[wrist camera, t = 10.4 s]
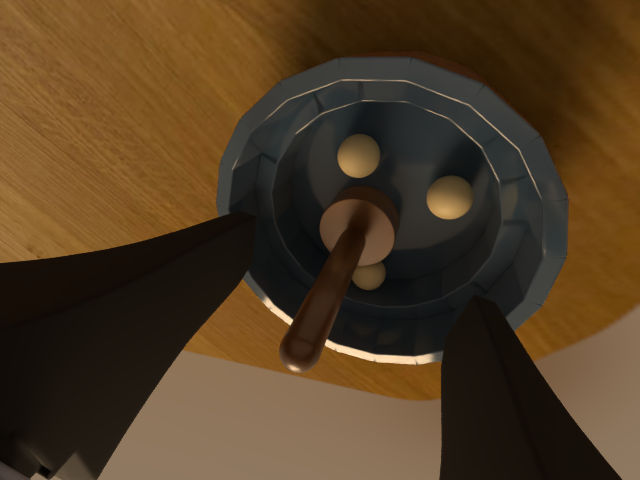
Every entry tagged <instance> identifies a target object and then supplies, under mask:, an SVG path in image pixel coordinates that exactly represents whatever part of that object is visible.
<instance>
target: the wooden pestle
mask: <svg viewBox="0 0 640 480" xmlns="http://www.w3.org/2000/svg"><path fill="white" fill-rule="evenodd" d="M398 228H399V213H398V210H397V208H396V206H395V204H394V203H393V201H392V200H391V199H390V198H389V197H388V196H387V195H386V194H384V193H383V192H382V191H380V190H378V189H375V188H373V187H369V186H353V187H349V188H347V189H344V190H343V191H341V192H340V193H339V194H337V196H336V197H335V198H334V199H333V201H332V202H331V203H330V205H329V206H328V207H327V209H326V210H325V212H324V213H323V215H322V217H321V220H320V235H321V239H322V241H323V243H324V245H325V247H326V248H327V249H328V250H329V252H330V255H329V257H328V259H327V260H326V262H325V264H324V266H323V268H322V269H321V271H320V273H319V275H318V277H317V278H316V280H315V282H314V284H313V286H312V287H311V289H310V291H309V293H308V295H307V296H306V298H305V300H304V302H303V303H302V305H301V307H300V309H299V311H298V312H297V314H296V316H295V318H294V320H293V321H292V323H291V325H290V327H289V329H288V330H287V332H286V334H285V336H284V338H283V339H282V342H281V344H280V348H279V355H280V359H281V362H282V363H283V365H284V366H285V367H286V368H287V369H289V370H290V371H292V372H296V373H303V372H306V371H309V370H310V369H312V368H313V367H314V366H315V365H316V363H317V362H318V360H319V357H320V355H321V352H322V350H323V348H324V345H325V343H326V340H327V338H328V335H329V333H330V330H331V328H332V326H333V323H334V321H335V318H336V316H337V313H338V311H339V308H340V306H341V304H342V301H343V299H344V296H345V294H346V291H347V289H348V286H349V284H350V281H351V279H352V277H353V274H354V272H355V269H356V267H357V266H367V265H372V264H376V263H378V262H380V261H382V260H383V259H384V258H386V257H387V256H388V255H389V253H390V252H391V251H392V248H393V246H394V243H395V239H396V235H397V232H398Z"/></svg>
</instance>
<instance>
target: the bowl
mask: <svg viewBox="0 0 640 480" xmlns="http://www.w3.org/2000/svg"><path fill="white" fill-rule="evenodd" d="M355 134H364V135H368V136H370V137H371V138H373V139H374V140H375V141H376V143H377V144H378V146H379V149H380V161H379V164H378V166H377V168H376V169H375V170H374V171H373V172H372V173H371V174H370V175H368V176H365V177H362V178H355V177H351V176H349V175H347V174H346V173H345V172H343V170H342V169H341V167H340V166H339V163H338V150H339V147H340V145H341V144H342V142H343V141H344V140H345V139H346V138H348V137H349V136H352V135H355ZM450 175H453V176H459V177H461V178H463V179H465V180H466V181H467V182H468V183H469V184H470V185H471V187H472V189H473V193H474V200H473V204H472V206H471V208H470V209H469V210H468V212H466V213H465V214H464V215H463V216H461V217H459V218H456V219H442V218H439V217H437V216H436V215H434V214H433V213H432V212H431V211H430V209H429V207H428V205H427V193H428V190H429V188H430V186H431V185H432V184H433V183H434V182H435V181H436V180H438V179H439V178H441V177H444V176H450ZM353 186H369V187H373V188H375V189H378V190H380V191H382V192H383V193H384V194H386V195H387V196H388V197H389V198H390V199H391V200H392V201H393V203H394V204H395V206H396V208H397V210H398V213H399V228H398V232H397V235H396V239H395V243H394V246H393V248H392V251H391V252H390V253H389V255H388V256H387V257H386V258H384V259H383V260H382V261H381V262H382V263H383V265H384V267H385V270H386V276H385V280H384V282H383V283H382V284H381V285H380V286H379V287H378V288H376V289H374V290H364V289H361V288H359V287H358V286H357V285H356V284H355V283H354V282H353V280H352V279H351V281H350V284H349V286H348V289H347V291H346V294H345V296H344V299H343V301H342V304H341V306H340V308H339V311H338V313H337V316H336V318H335V321H334V323H333V326H332V328H331V330H330V333H329V335H328V338H327V340H326V343H325V346H327V347H329V348H331V349H333V350H336V351H337V352H341V353H344V354H348V355H352V356H355V357H359V358H363V359H366V360H370V361H373V362H375V361H376V362H383V363H398V364H413V365H418V364H426V363H432V362H439V361H442V356H443V349H444V342H445V337H446V335H447V334H448V332H449V331H450V329H451V328H452V326H453V325H454V323H455V322H456V320H457V319H458V317H459V316H460V314H461V313H462V311H463V310H464V308H465V307H466V306H467V304H468V303H469V301H470V300H471V298H472V297H473V295H477V296H480V297H483V298H485V299H488V300H491V301H494V302H496V304H497V305H498V307H499V308H500V310H501V311H502V313H503V315H504V316H505V318H506V319H507V321H508V323H509V324H510V326H511V327H512V329H513V331H515V330H516V329H517V328H519V327H520V326H521V325H522V324H523V323H524V322H525V321H526V320H527V319H529V318H530V317H531V316H532V315H533V314H534V313H535V312H536V311H538V310H539V309H540V308H541V307H542V305H543V304H544V302H545V300H546V298H547V296H548V294H549V292H550V290H551V288H552V286H553V284H554V282H555V280H556V278H557V276H558V274H559V272H560V270H561V268H562V266H563V264H564V262H565V260H566V256H567V245H568V210H569V199H568V194H567V192H566V189H565V187H564V185H563V182H562V180H561V178H560V176H559V173H558V171H557V169H556V167H555V164H554V162H553V160H552V158H551V155H550V153H549V151H548V148H547V146H546V144H545V142H544V139H543V137H542V136H541V135H540V134H539V132H538V131H537V130H536V129H535V128H534V127H533V126H532V125H531V124H530V123H529V122H528V121H527V120H526V119H525V117H524V116H522V114H521V113H520V112H519V111H518V110H517V109H516V108H515V107H514V106H513V105H512V104H511V103H510V102H509V101H507V100H506V99H505V98H504V97H503V96H502V95H501V94H500V93H499V92H498V91H497V90H495V89H494V88H493V87H492V86H491V85H490V84H489V83H488V82H487V81H486V80H484V79H483V78H482V77H481V76H480V75H479V74H478V73H477V72H475V71H473V70H472V69H470V68H467V67H464V66H462V65H459V64H456V63H454V62H451V61H448V60H445V59H443V58H440V57H437V56H435V55H432V54H429V53H427V52H422V51H406V52H368V53H362V54H356V55H350V56H343V57H337V58H335V59H332V60H330V61H327V62H325V63H322V64H320V65H317V66H315V67H312V68H310V69H307V70H305V71H302V72H300V73H297V74H295V75H292V76H290V77H287V78H285V79H282V80H281V81H280V82H278V83H277V84H276V85H274V86H273V87H272V88H271V89H270V90H269V91H268V92H267V93H266V94H265V95H264V96H263V97H262V98H261V99H260V100H259V101H258V102H257V103H256V104H254V105H253V106H252V107H251V108H250V109H249V110H248V111H247V112H246V113H245V114H244V115H243V116H242V117H241V119H240V120H239V122H238V124H237V126H236V128H235V130H234V132H233V135H232V137H231V139H230V141H229V143H228V145H227V147H226V150H225V152H224V154H223V156H222V158H221V162H220V166H219V177H218V189H217V200H216V204H217V211H218V215H219V217H221V216H224V215H227V214H230V213H233V212H237V211H243V212H246V213H248V214H251V215H254V216H256V226H255V241H254V255H253V263H252V265H251V266H250V268H249V269H248V271H247V272H246V274H245V276H244V277H243V279H244V281H245V282H246V283H247V285H248V286H249V287H250V288H251V289H252V290H253V292H254V293H255V294H256V295H257V296H258V297H259V299H260V300H261V301H262V302H263V303H264V304H265V306H266V307H267V308H269V310H270V311H272V312H273V313H274V314H276V315H277V316H278V317H279V318H281V319H282V320H283V321H285V322H286V323H287V324H289V325H291V323H292V321H293V320H294V318H295V316H296V314H297V312H298V311H299V309H300V307H301V305H302V303H303V302H304V300H305V298H306V296H307V295H308V293H309V291H310V289H311V287H312V286H313V284H314V282H315V280H316V278H317V277H318V275H319V273H320V271H321V269H322V268H323V266H324V264H325V262H326V260H327V259H328V257H329V255H330V252H329V250H328V249H327V248H326V247H325V245H324V243H323V241H322V239H321V235H320V220H321V217H322V215H323V213H324V212H325V210H326V209H327V207H328V206H329V205H330V203H331V202H332V201H333V199H334V198H335V197H336V196H337V194H339V193H340V192H341V191H343V190H344V189H347V188H349V187H353Z"/></svg>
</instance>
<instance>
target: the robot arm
mask: <svg viewBox="0 0 640 480" xmlns="http://www.w3.org/2000/svg"><path fill="white" fill-rule="evenodd" d="M255 226H256V216H254V215H251V214H248V213H246V212H243V211H237V212H233V213H230V214H227V215H224V216H221V217H218V218H215V219H212V220H209V221H206V222H203V223H200V224H197V225H194V226H191V227H188V228H185V229H182V230H179V231H176V232H172V233H169V234H165V235H162V236H159V237H155V238H152V239H148V240H145V241H141V242H137V243H133V244H129V245H124V246H119V247H115V248H110V249H105V250H100V251H94V252H87V253H81V254H75V255H68V256H62V257H55V258H47V259H38V260H30V261H19V262H8V263H0V480H30V478H31V477H32V476H33V475H34V474H35V473H38V474H39V475H41V476H43V477H44V478H46V479H48V480H49V479H51V478H52V477H53V476H54V475H55V476H56V477H58V478H60V479H62V480H97V479H98V477H99V476H100V474H101V472H102V470H103V469H104V467H105V465H106V464H107V462H108V461H109V459H110V457H111V456H112V454H113V452H114V451H115V449H116V448H117V446H118V444H119V443H120V441H121V439H122V438H123V436H124V434H125V433H126V431H127V430H128V428H129V427H130V425H131V424H132V422H133V421H134V419H135V417H136V416H137V414H138V413H139V411H140V410H141V408H142V407H143V405H144V404H145V402H146V401H147V399H148V398H149V396H150V395H151V393H152V392H153V390H154V389H155V387H156V386H157V385H158V383H159V382H160V380H161V379H162V377H163V376H164V374H165V373H166V371H167V370H168V368H169V367H170V366H171V365H172V363H173V361H174V360H175V359H176V357H177V356H178V355H179V353H180V352H181V351H182V349H183V348H184V347H185V345H186V344H187V343H188V341H189V340H190V339H191V338H192V337H193V335H194V334H195V333H196V332H197V331H198V330H199V328H200V327H201V326H202V325H203V324H204V323H205V322H206V321H207V320H208V318H209V317H210V316H211V315H212V314H213V313H214V312H215V311H216V309H217V308H218V307H219V306H220V305H221V304H222V303H223V302H224V300H225V299H226V298H227V297H228V296H229V295H230V294H231V292H232V291H233V290H234V289H235V288H236V287H237V286H238V284H239V283H240V281H241V280H242V278H243V277H244V276H245V274H246V272H247V271H248V269H249V268H250V266H251V265H252V263H253V255H254V241H255ZM441 413H442V414H441V416H442V417H441V421H442V422H441V424H442V449H441V452H442V453H441V468H440V479H439V480H622V479H621V478H620V476H619V475H618V474H617V473H616V472H615V470H614V469H613V468H612V467H611V466H610V465H609V463H608V462H607V461H606V460H605V459H604V457H603V456H602V455H601V454H600V452H599V451H598V450H597V449H596V447H595V446H594V445H593V444H592V442H591V441H590V440H589V439H588V438H587V436H586V435H585V434H584V432H583V431H582V430H581V429H580V427H579V426H578V425H577V423H576V422H575V421H574V419H573V418H572V417H571V416H570V414H569V413H568V411H567V410H566V409H565V407H564V406H563V404H562V403H561V402H560V400H559V399H558V398H557V396H556V395H555V393H554V392H553V391H552V389H551V388H550V386H549V385H548V383H547V382H546V380H545V379H544V377H543V376H542V375H541V373H540V372H539V370H538V369H537V367H536V366H535V364H534V362H533V361H532V359H531V358H530V356H529V355H528V353H527V352H526V350H525V348H524V347H523V345H522V344H521V342H520V340H519V339H518V337H517V336H516V334H515V332H514V331H513V329H512V327H511V326H510V324H509V323H508V321H507V319H506V318H505V316H504V315H503V313H502V311H501V310H500V308H499V307H498V305H497V304H496V302H494V301H491V300H488V299H485V298H483V297H480V296H477V295H473V297H472V298H471V300H470V301H469V303H468V304H467V306H466V307H465V308H464V310H463V311H462V313H461V314H460V316H459V317H458V319H457V320H456V322H455V323H454V325H453V326H452V328H451V329H450V331H449V332H448V334H447V335H446V337H445V342H444V349H443V356H442V365H441Z"/></svg>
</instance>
